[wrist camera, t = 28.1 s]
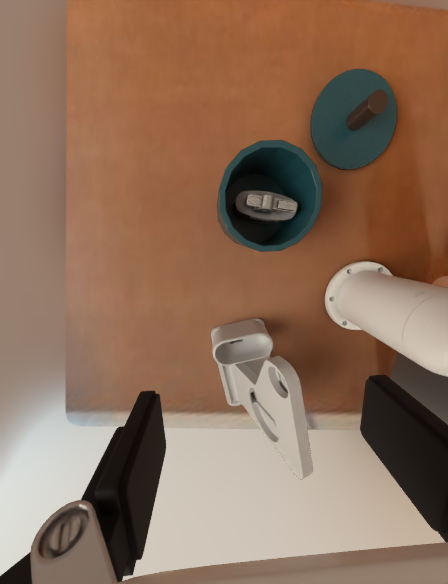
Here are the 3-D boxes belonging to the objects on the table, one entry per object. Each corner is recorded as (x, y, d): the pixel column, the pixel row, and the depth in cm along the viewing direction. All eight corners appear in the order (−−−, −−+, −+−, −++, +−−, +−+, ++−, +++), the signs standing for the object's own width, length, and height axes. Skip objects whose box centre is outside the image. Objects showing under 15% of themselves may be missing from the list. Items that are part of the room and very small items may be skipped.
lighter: (229, 218, 37) (235, 212, 27) (232, 196, 36) (240, 181, 26) (277, 226, 37) (300, 222, 27) (281, 204, 36) (307, 193, 27)
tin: (290, 169, 36) (325, 138, 25) (288, 245, 38) (319, 248, 27) (215, 171, 35) (216, 141, 24) (219, 248, 38) (221, 253, 27)
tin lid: (396, 73, 33) (436, 38, 27) (385, 169, 36) (419, 156, 30) (310, 75, 33) (332, 39, 27) (306, 172, 36) (325, 159, 30)
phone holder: (209, 326, 41) (206, 391, 24) (263, 314, 41) (300, 371, 24) (228, 404, 46) (238, 509, 28) (277, 394, 45) (317, 492, 28)
